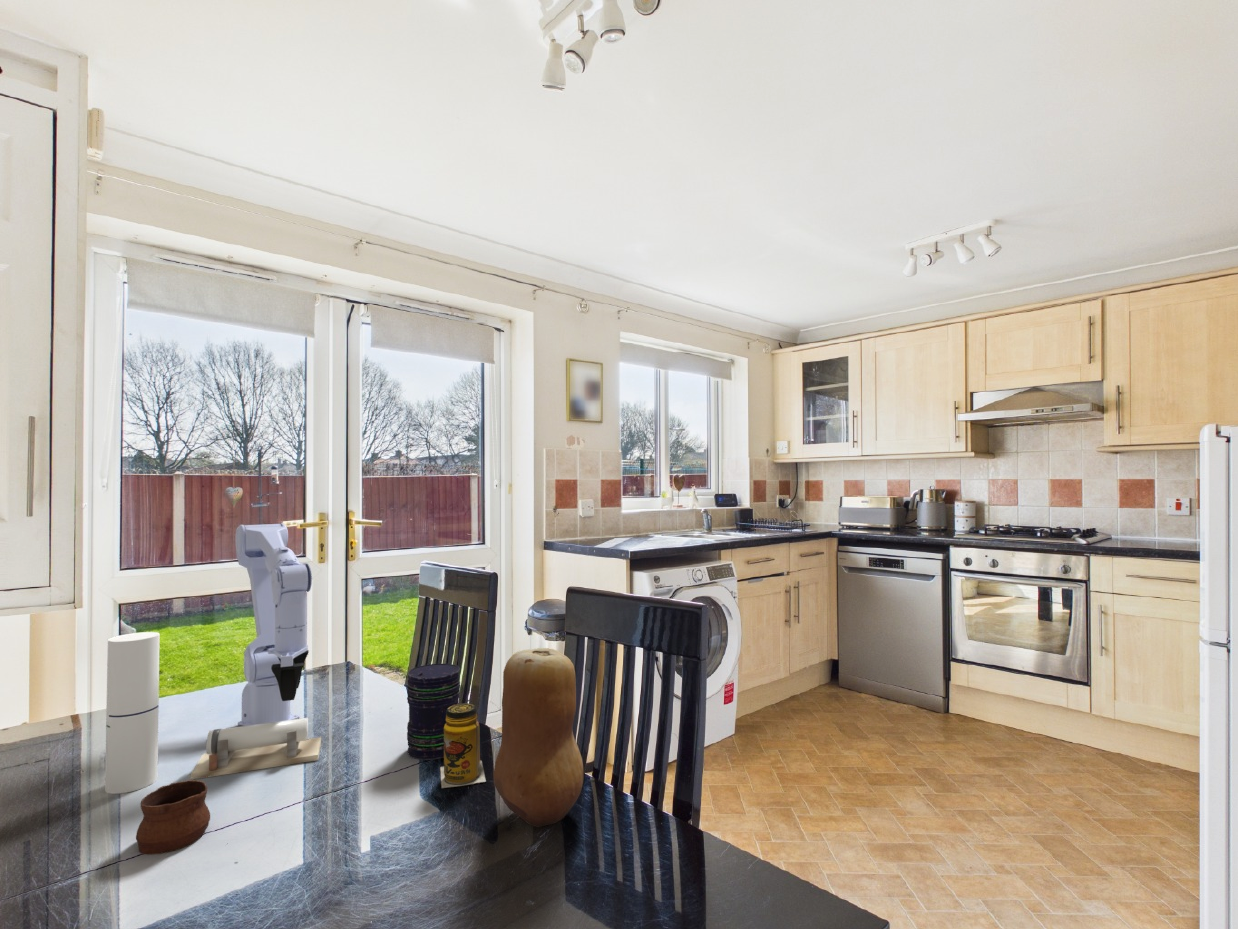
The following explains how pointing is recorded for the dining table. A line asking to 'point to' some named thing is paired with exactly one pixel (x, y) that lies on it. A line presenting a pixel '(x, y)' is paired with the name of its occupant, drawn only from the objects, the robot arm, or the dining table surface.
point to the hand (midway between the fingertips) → (290, 694)
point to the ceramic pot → (173, 817)
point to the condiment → (461, 747)
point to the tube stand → (256, 757)
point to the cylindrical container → (132, 712)
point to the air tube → (257, 735)
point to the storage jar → (430, 708)
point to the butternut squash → (539, 737)
